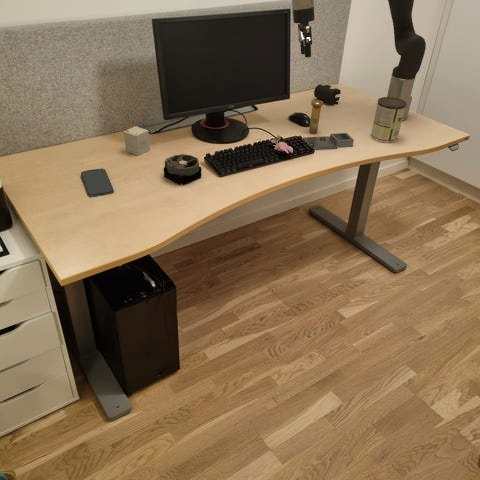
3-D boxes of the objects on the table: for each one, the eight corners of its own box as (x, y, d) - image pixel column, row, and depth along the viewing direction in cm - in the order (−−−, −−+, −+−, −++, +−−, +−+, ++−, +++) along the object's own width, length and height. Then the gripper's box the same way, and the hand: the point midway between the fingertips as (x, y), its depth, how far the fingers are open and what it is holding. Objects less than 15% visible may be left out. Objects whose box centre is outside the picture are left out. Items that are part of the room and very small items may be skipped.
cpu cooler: (205, 161, 143) (180, 171, 137) (205, 178, 146) (181, 188, 140) (184, 150, 149) (158, 159, 143) (184, 166, 152) (160, 176, 146)
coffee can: (373, 130, 184) (380, 95, 176) (399, 135, 180) (408, 99, 172) (367, 139, 176) (375, 102, 168) (395, 145, 173) (404, 108, 165)
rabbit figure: (262, 148, 169) (282, 159, 157) (262, 132, 166) (282, 141, 154) (278, 146, 171) (298, 156, 159) (278, 129, 169) (298, 139, 156)
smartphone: (88, 195, 133) (79, 171, 143) (89, 200, 134) (80, 175, 144) (114, 191, 135) (104, 167, 146) (115, 195, 136) (105, 172, 147)
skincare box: (150, 150, 161) (149, 130, 156) (138, 156, 157) (136, 135, 152) (137, 145, 163) (136, 125, 159) (125, 151, 159) (123, 131, 155)
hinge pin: (316, 129, 182) (320, 99, 175) (320, 134, 178) (325, 103, 171) (305, 130, 181) (309, 100, 174) (309, 134, 177) (313, 104, 170)
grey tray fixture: (344, 137, 176) (345, 131, 175) (354, 147, 169) (355, 141, 168) (298, 140, 173) (298, 133, 171) (305, 150, 166) (306, 143, 164)
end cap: (312, 100, 211) (314, 85, 207) (323, 97, 214) (325, 82, 210) (328, 106, 204) (330, 91, 200) (339, 104, 208) (342, 88, 204)
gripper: (317, 6, 157) (320, 57, 165) (310, 4, 169) (312, 51, 177) (295, 9, 157) (299, 60, 165) (289, 7, 169) (293, 54, 177)
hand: (306, 55), depth 171 cm, fingers open, 8 cm apart
